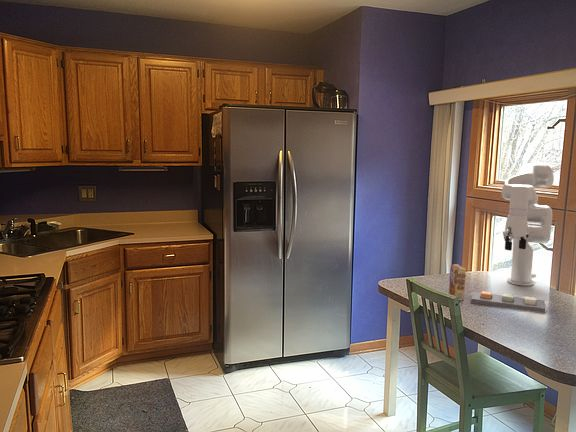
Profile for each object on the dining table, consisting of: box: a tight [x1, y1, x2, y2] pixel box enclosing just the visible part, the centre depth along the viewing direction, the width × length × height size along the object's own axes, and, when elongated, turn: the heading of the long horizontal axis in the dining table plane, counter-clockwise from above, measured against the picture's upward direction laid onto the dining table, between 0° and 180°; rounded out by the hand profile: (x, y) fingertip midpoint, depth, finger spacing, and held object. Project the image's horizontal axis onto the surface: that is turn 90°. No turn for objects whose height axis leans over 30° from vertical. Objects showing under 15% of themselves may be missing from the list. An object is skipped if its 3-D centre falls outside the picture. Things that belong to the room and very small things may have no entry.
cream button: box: [523, 295, 537, 305], centre depth 213 cm, size 4×4×2 cm
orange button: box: [481, 290, 493, 299], centre depth 221 cm, size 4×4×2 cm
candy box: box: [448, 263, 467, 302], centre depth 224 cm, size 9×4×15 cm, turn 2°
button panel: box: [470, 291, 546, 314], centre depth 217 cm, size 12×30×2 cm, turn 64°
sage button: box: [502, 293, 514, 302], centre depth 217 cm, size 4×4×2 cm
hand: (515, 249), depth 220 cm, fingers open, 9 cm apart
